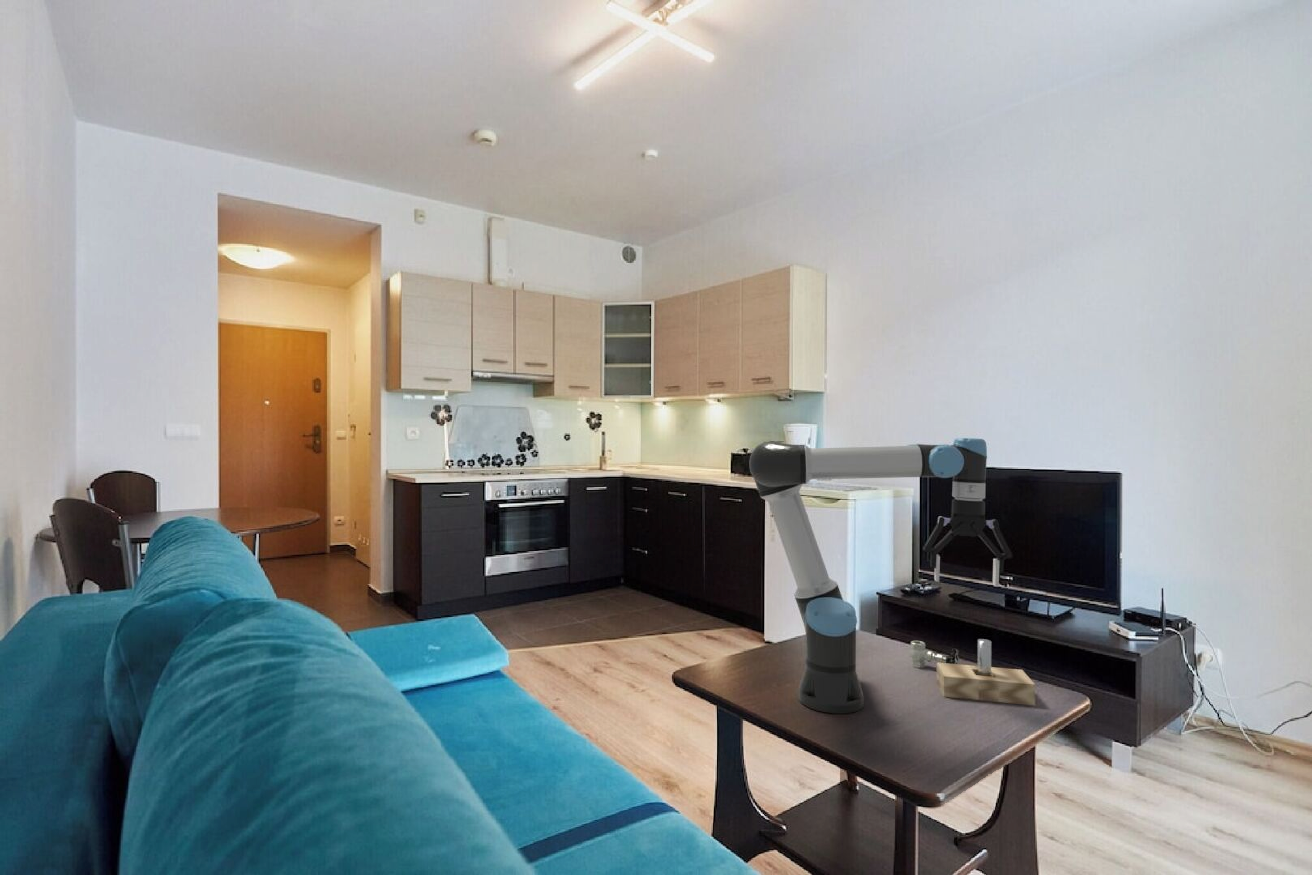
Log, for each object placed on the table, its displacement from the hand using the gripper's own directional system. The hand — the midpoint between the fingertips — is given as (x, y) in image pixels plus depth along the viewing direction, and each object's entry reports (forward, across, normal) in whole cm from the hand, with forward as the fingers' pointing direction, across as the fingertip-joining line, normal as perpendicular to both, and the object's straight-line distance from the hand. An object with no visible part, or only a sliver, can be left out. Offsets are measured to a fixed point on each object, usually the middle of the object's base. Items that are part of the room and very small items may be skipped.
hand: (965, 583), depth 160 cm
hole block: (+27, +5, -1) cm, 27 cm away
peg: (+27, +5, -1) cm, 27 cm away
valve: (+27, -5, +14) cm, 31 cm away
